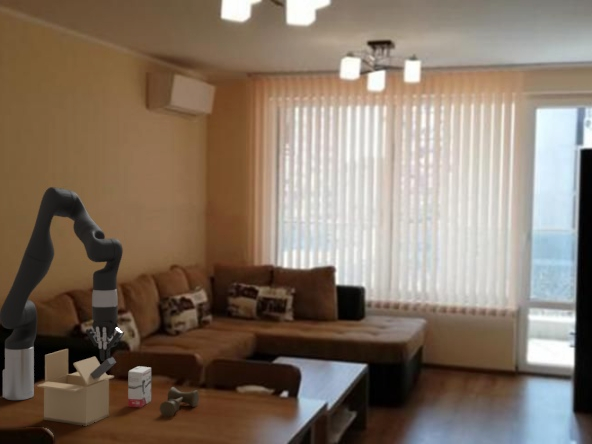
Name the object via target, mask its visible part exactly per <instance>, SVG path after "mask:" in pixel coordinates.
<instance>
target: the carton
mask: <svg viewBox="0 0 592 444" xmlns="http://www.w3.org/2000/svg"><path fill="white" fill-rule="evenodd" d="M107 376H108V378H107V379H104V380H101V381H99V382H96V383H93V384H90V385H88V386H87V385H86V384H85V382H84V381H83V379H82V377H81V376H80V374H79V373H78V371H75V372H73V373H69V348H65V349H60V350H58V351H54V352H52V353H48V354H45V355H44V380H45V381H43V383H39V384H37V385H36V386H37V388H38V387H39V388H43V420H45V421H52V422H59V423H64V424H68V425H69V424H70V425H76V426H82V425H83V427H87V425H88V426H89V425H92V424H94V422H95V423H98V422H99V421H101V420H103V419H106V418H108V417H109V416H110V413H109V412H110V405H109V404H110V379H114V378H115V375H111V374H109V375H108V374H107Z"/></svg>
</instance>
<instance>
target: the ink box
mask: <svg viewBox="0 0 592 444" xmlns="http://www.w3.org/2000/svg"><path fill="white" fill-rule="evenodd" d="M127 373H128V379H127V380H128V382H127V384H128V385H127V390H128V391H127V394H128V395H127V397H128V398H127V400H128V402H127V404H128V407H130V408H143V407H145V406H146V405H147V404H149V403H151V401H152V367H149V366H148V367H147V366H142V365H141V366H140V365H139V366H136V367H134V368H132V369H129V371H128V372H127Z"/></svg>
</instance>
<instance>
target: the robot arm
mask: <svg viewBox="0 0 592 444" xmlns="http://www.w3.org/2000/svg"><path fill="white" fill-rule="evenodd" d="M54 217H61V218H68V219H70V220H72V221H73V228H72V229H73V231H74V234H75V236H76V237H77V238H78V240H80V242H81V243H82V245H83V247H84V250H85V252H86V256H87V258H88V259H89V260H90V261H92V262H93V263H105V266H104V267H103V268H101V269H97V270H95V271H94V272H93V274H92V296H91V307H92V308H91V311H92V312H91V313H92V314H91V316H92V317H91V319H92V320H93V321H92V324H91V327H89V328H88V329H86V330H85V333H86V335H87V336H88V337H89V339H90V341H91V342H92V344H93V346H94V347H97V348H98V349H99V359H100V361H101V362H104V361H105V360H106V359H109V358H111V348H113V347H116V346H117V345H118V344H119V342H120V340H121V339H122V337H123V336H124V334H125V331H124V330H120V328H118V327H119V325H118V322H117V321H118V317H119V316H118V313H119V312H118V309H119V308H118V304H119V302H118V300H119V299H118V287H117V286H118V284H117V281H118V273H119V272H118V271H119V268H120V265H121V260H122V258H123V254H124V253H123V251H124V250H123V245H122V242H120V240H119V239H117V238H106V237H105V235H106V234H105V233H104V231H103V230H102V228H100V226H99V225H98V224H97V223H96V222H95V221H94V220H93V219H92V217H91V216H90V214H89V212H88V211H87V209H86V207H85V205H84V203H83V201H82V199H81V198H80V196H79V195H78V194H77V192H75V191H73V190H69V189H64V188H59V187H55V186H50V187H48V188H47V189H46V190H45V192H44V194H43V196H42V198H41V202H40V205H39V208H38V211H37V216H36V219H35V222H34V226H33V230H32V232H31V235H30V238H29V241H28V244H27V246H26V248H25V251H24V253H23V256H22V259H21V262H20V264H19V267H18V269H17V273H16V275H15V278H14V281H13V283H12V286H11V287H10V290H9V292H8V293H7V295H6V297H5V299H4V302H3V303H2V306H1V308H0V324H1V326H2V327H3V328H5V329H7V330H13V331H12V333H11V334H10V335H9V336H8V337H7V338H6V339H5V340H4V358H5V359H4V368H3V370H2V398H4V399H5V400H8V401H23V400H24V401H25V400H28V399H32V398H33V397H34V396H35V394H34V393H35V392H34V391H35V389H34V387H35V386H34V385H35V384H34V383H35V377H34V376H35V373H34V372H35V370H34V369H35V367H34V366H35V358H34V357H35V351H34V350H35V347H34V346H35V345H34V344H35V343H34V342H35V340H36V337H37V328H38V327H37V326H38V312H37V311H38V310H37V307H36V305H35V303H34V302H33V301H32V300H30V299H29V297H30V296H31V294H32V293H33V291H34V290H35V289H36V288H37V286H39V284H40V283H41V282H42V280H43V279H44V278H45V277H46V275H47V274H48V272H49V271H50V267H51V266H52V263H53V260H54V257H55V248H54V243H53V240H52V235H51V225H52V222H53V218H54Z"/></svg>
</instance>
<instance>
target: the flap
mask: <svg viewBox="0 0 592 444" xmlns="http://www.w3.org/2000/svg"><path fill="white" fill-rule="evenodd" d="M116 363H117V361H116V359H115V358H114V357H113V356H111V357H110V358H109V359H106V360H105V361H102V363H101V364H100V361H99V360H98V358H97V357H96V356H92V357H88V358H86V359H82V360H79V361H76V362H73V363H72V364H73V367H74V368H75V369H76V372H78V373H79V374H80V376H81V377H82V379H83V381H84V382H85V384H86V385H87V386H88V385H90V384H93V383H96V382H99V381H101V380H104V379H107V378H108V376H107V375H108V374H107V373H106V372H108V371H109V370H110V369H111V368H112V367H113V366H114V365H115V364H116Z"/></svg>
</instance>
